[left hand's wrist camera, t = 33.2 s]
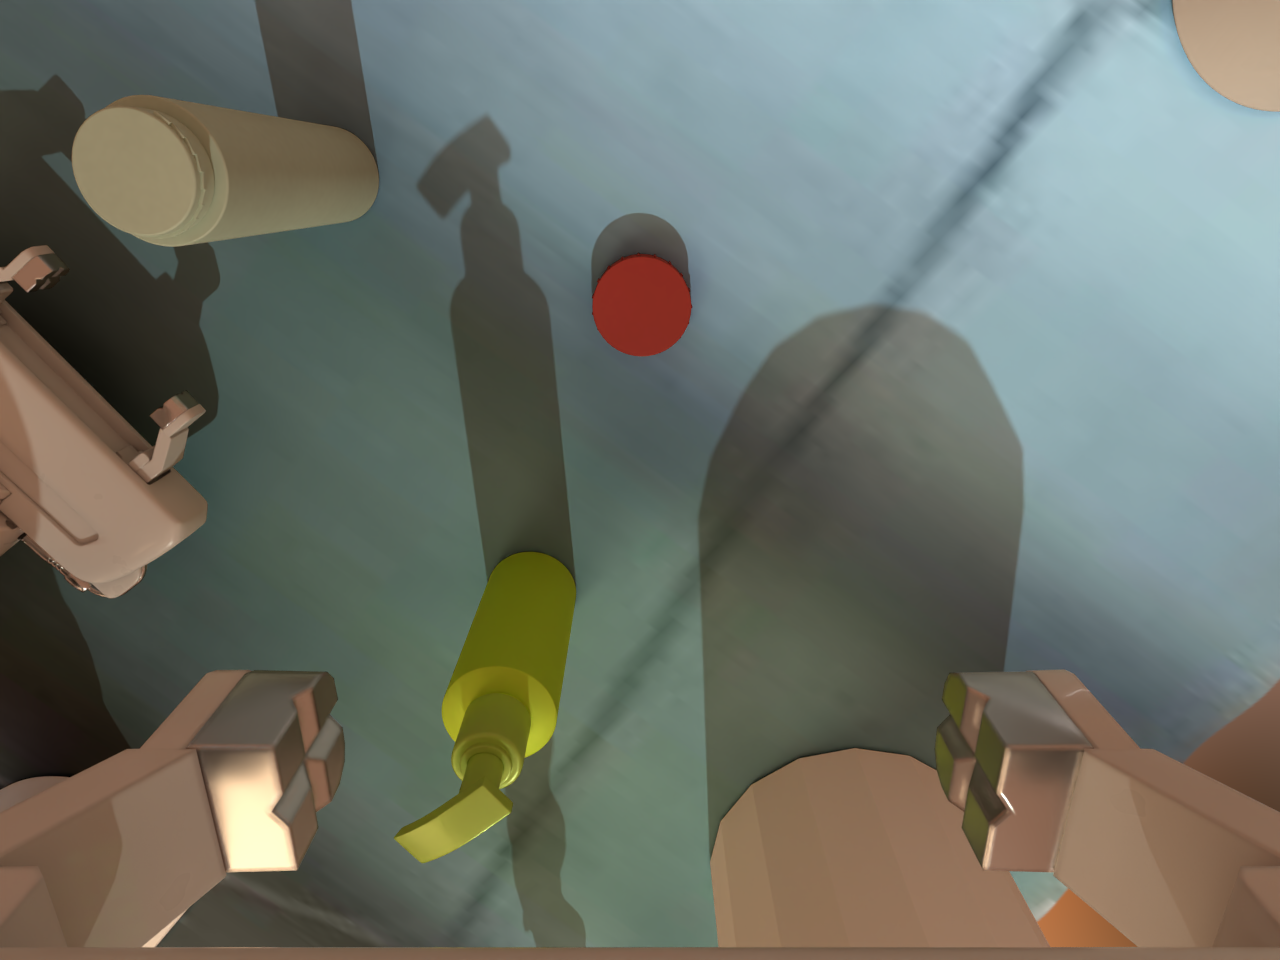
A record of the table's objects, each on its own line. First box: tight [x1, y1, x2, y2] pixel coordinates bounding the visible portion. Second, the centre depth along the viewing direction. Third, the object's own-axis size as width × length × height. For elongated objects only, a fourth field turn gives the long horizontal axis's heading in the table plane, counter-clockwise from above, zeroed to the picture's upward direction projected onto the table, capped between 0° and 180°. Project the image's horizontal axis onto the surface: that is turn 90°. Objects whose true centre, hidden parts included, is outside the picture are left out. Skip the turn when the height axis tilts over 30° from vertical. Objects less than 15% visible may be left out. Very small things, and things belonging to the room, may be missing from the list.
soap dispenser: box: [394, 552, 576, 863], centre depth 44 cm, size 6×7×20 cm
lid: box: [592, 253, 692, 356], centre depth 46 cm, size 6×6×2 cm
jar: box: [72, 95, 379, 247], centre depth 35 cm, size 5×5×19 cm
